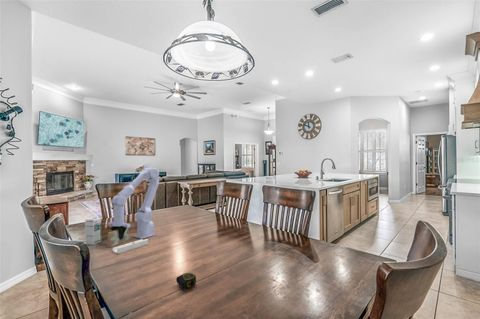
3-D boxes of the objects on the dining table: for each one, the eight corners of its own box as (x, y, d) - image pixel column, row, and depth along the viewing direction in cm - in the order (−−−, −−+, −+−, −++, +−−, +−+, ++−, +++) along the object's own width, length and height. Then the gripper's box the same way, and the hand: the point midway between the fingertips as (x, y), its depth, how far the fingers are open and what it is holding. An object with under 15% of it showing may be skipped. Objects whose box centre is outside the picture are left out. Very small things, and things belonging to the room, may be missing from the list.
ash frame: (126, 238, 146) (126, 225, 146) (129, 239, 145) (129, 226, 145) (107, 246, 132) (107, 232, 132) (111, 247, 132) (111, 233, 132)
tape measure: (175, 284, 93) (175, 275, 93) (192, 279, 97) (191, 270, 97) (181, 292, 87) (181, 282, 87) (198, 286, 91) (198, 277, 91)
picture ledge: (141, 242, 140) (141, 236, 140) (148, 244, 136) (148, 238, 136) (111, 251, 126) (111, 244, 126) (118, 254, 122) (118, 247, 122)
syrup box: (93, 245, 135) (93, 219, 135) (85, 244, 136) (85, 219, 136) (101, 241, 141) (101, 217, 141) (93, 240, 142) (93, 216, 142)
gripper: (103, 216, 137) (103, 239, 137) (123, 218, 133) (123, 242, 133) (113, 213, 144) (113, 235, 144) (132, 215, 140) (132, 238, 140)
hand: (119, 238), depth 139 cm, fingers closed on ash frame, 3 cm apart
